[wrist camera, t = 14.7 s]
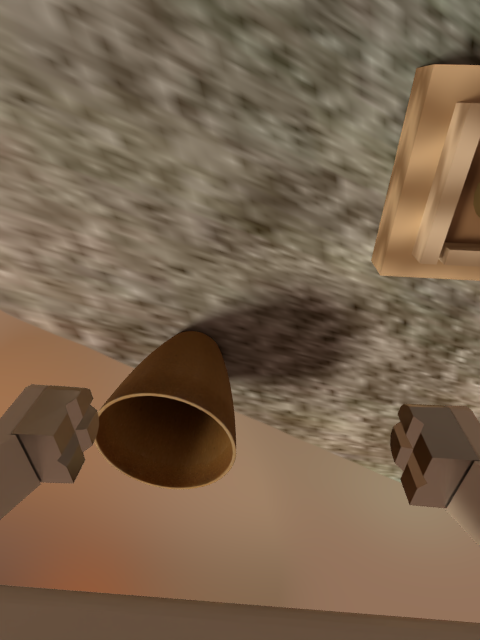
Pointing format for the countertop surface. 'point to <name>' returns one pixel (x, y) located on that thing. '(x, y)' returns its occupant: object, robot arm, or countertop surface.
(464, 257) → the display stand
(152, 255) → the countertop surface
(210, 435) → the plant pot
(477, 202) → the cork
